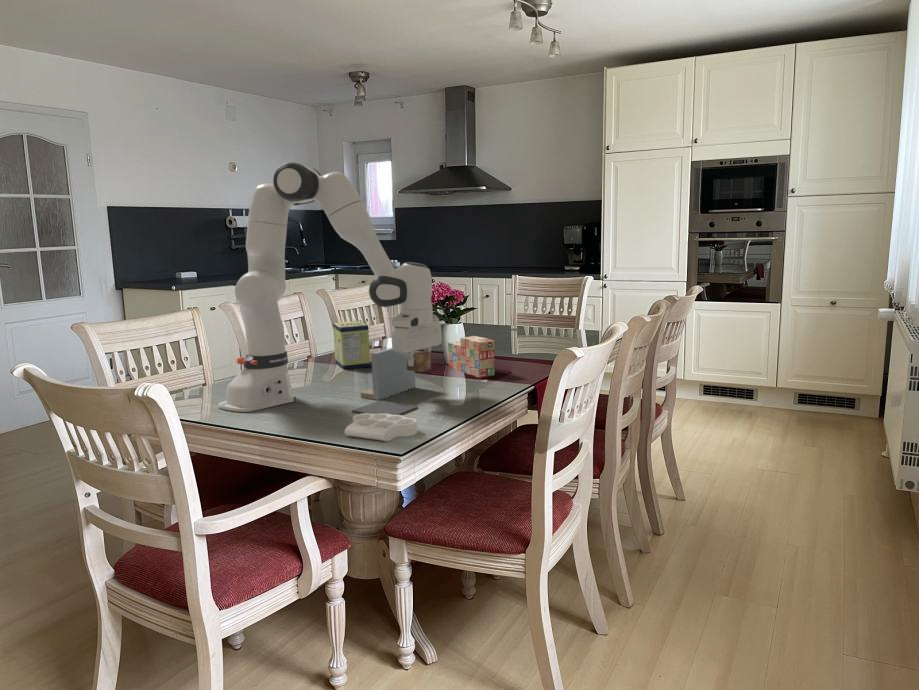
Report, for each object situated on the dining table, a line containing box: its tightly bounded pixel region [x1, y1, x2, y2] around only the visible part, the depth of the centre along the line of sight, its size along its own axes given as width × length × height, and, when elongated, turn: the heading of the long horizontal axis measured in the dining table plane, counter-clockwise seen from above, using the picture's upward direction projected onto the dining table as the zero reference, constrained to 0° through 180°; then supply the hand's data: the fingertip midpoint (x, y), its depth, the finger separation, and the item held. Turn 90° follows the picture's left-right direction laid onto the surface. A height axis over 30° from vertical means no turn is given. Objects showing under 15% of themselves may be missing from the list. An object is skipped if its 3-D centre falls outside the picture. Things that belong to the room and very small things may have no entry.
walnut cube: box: [407, 350, 432, 373], centre depth 199 cm, size 5×5×5 cm
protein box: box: [332, 320, 371, 370], centre depth 252 cm, size 10×16×16 cm
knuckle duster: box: [344, 413, 419, 442], centre depth 168 cm, size 3×18×15 cm
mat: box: [351, 400, 419, 416], centre depth 187 cm, size 12×14×1 cm
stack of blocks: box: [447, 335, 496, 379], centre depth 234 cm, size 21×6×12 cm, turn 30°
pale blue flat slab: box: [360, 347, 416, 401], centre depth 207 cm, size 18×7×14 cm, turn 147°
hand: (418, 364), depth 200 cm, fingers closed on walnut cube, 5 cm apart
